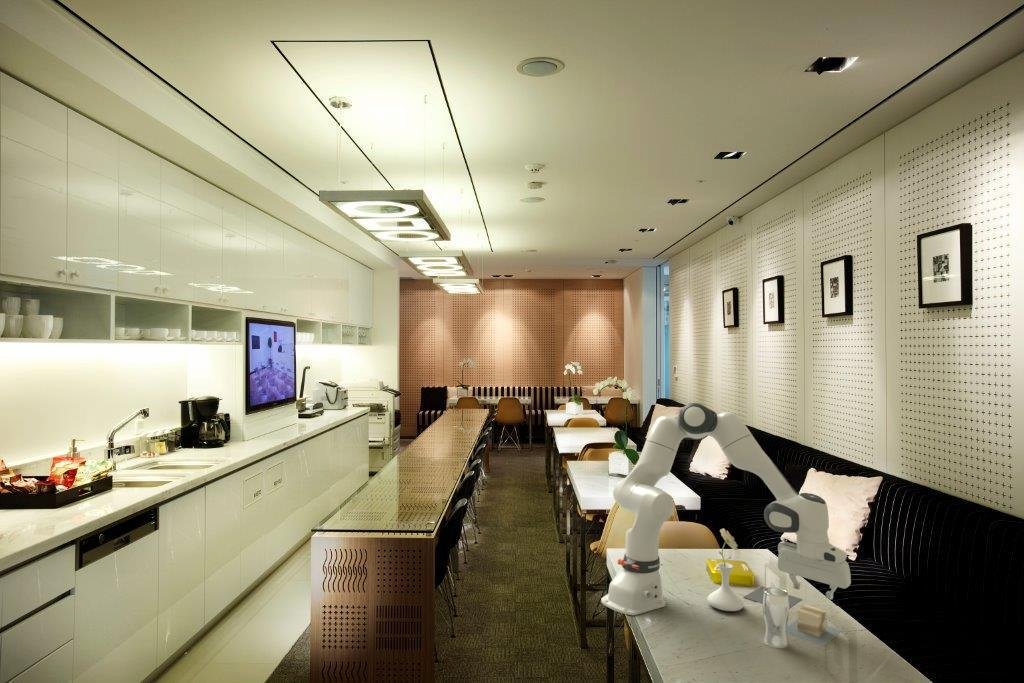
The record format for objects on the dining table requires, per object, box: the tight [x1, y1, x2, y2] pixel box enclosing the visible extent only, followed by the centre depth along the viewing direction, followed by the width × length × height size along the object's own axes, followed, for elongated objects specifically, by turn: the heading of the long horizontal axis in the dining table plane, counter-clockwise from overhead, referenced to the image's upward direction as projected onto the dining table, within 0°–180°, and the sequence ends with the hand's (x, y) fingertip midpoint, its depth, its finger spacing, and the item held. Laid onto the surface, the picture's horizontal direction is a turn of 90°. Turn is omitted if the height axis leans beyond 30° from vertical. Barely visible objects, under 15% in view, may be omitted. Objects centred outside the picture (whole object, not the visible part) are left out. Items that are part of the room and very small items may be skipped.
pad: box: [743, 585, 803, 609], centre depth 197 cm, size 14×14×1 cm
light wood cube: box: [797, 604, 827, 637], centre depth 175 cm, size 6×6×6 cm
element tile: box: [705, 558, 755, 587], centre depth 217 cm, size 15×15×5 cm
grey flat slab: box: [786, 618, 842, 647], centre depth 175 cm, size 14×12×1 cm
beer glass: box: [762, 586, 790, 649], centre depth 167 cm, size 7×7×15 cm
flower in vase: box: [706, 528, 745, 612], centre depth 192 cm, size 13×11×25 cm
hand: (812, 593), depth 176 cm, fingers open, 8 cm apart
